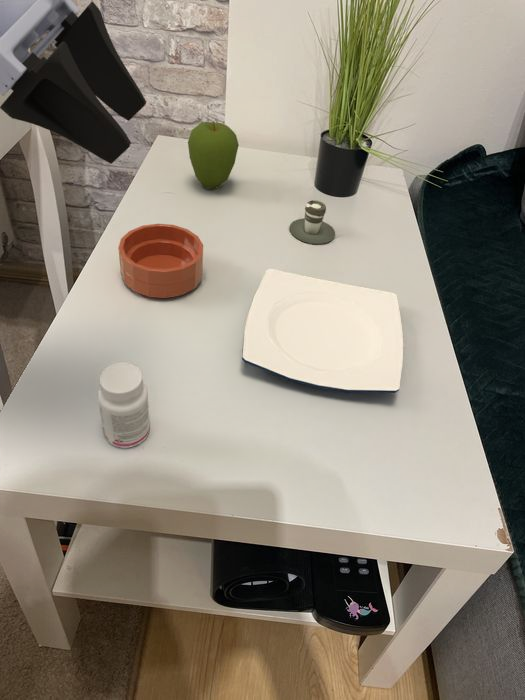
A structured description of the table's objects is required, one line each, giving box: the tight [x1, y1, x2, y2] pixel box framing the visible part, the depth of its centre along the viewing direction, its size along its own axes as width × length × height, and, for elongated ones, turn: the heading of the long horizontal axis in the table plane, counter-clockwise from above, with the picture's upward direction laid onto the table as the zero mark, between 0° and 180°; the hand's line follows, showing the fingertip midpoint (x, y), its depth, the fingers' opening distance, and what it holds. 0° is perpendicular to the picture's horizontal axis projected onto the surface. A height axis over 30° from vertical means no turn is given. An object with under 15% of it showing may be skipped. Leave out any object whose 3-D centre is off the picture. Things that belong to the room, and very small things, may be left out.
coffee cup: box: [288, 199, 336, 245], centre depth 86 cm, size 12×12×5 cm
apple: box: [187, 121, 240, 190], centre depth 90 cm, size 9×8×12 cm
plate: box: [241, 268, 404, 394], centre depth 68 cm, size 20×20×3 cm
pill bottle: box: [97, 362, 151, 449], centre depth 52 cm, size 5×5×8 cm
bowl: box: [118, 223, 204, 299], centre depth 73 cm, size 11×11×5 cm
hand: (130, 131), depth 40 cm, fingers open, 7 cm apart
